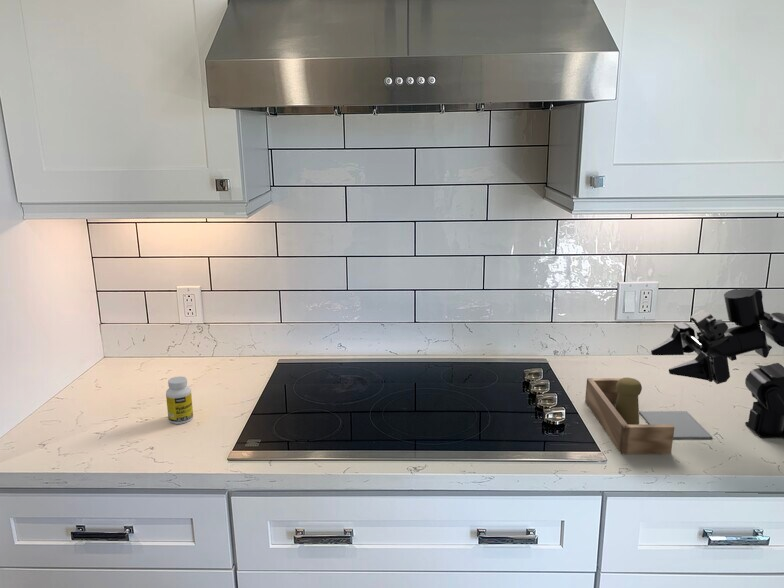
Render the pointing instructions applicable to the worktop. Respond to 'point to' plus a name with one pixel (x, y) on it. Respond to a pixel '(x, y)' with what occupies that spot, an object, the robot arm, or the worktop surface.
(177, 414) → the supplement bottle
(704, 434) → the grey mat
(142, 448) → the worktop surface
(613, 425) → the walnut u-shaped bracket
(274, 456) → the worktop surface
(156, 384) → the worktop surface
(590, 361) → the worktop surface
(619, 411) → the olive game pawn
